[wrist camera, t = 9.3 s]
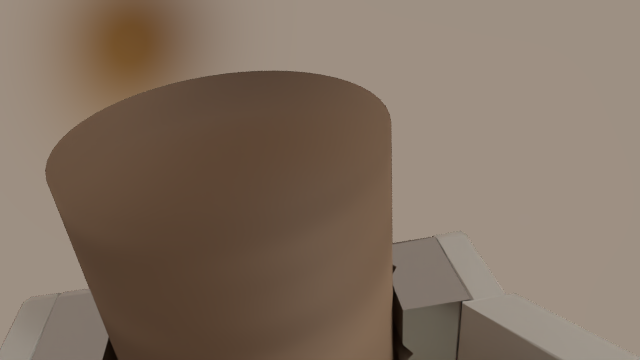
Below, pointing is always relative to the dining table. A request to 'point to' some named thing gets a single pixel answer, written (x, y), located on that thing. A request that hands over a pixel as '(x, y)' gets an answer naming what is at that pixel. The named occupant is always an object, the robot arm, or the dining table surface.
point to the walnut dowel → (235, 218)
